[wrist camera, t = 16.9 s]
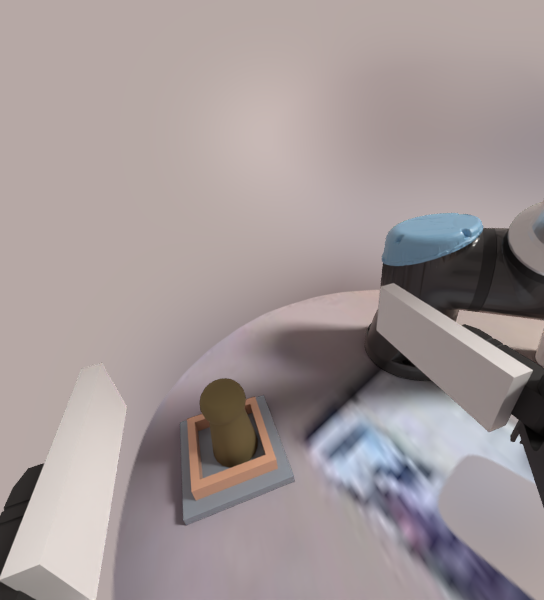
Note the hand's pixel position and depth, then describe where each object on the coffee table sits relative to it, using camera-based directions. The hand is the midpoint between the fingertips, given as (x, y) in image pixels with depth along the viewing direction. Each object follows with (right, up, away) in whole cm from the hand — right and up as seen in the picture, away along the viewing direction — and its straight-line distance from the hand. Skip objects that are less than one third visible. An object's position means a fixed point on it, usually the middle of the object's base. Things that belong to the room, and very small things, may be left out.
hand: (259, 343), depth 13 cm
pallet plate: (-5, -19, +25) cm, 31 cm away
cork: (-4, -17, +24) cm, 30 cm away
